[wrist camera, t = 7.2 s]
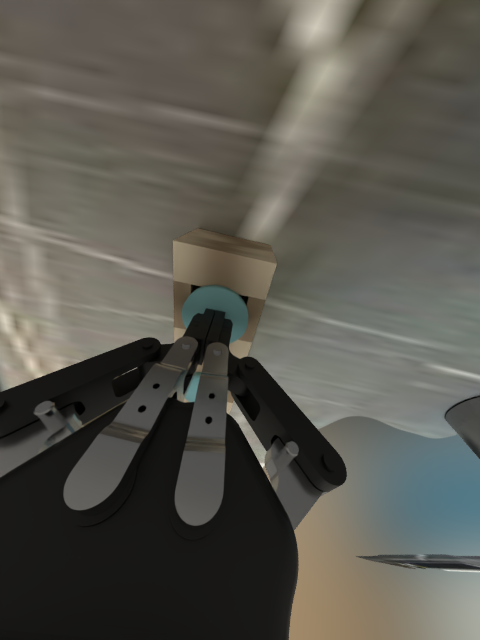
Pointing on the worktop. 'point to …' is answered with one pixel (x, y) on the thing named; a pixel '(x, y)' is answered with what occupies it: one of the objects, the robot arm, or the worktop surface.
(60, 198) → the worktop surface
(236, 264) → the oak block
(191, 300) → the teal peg
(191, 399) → the teal peg
